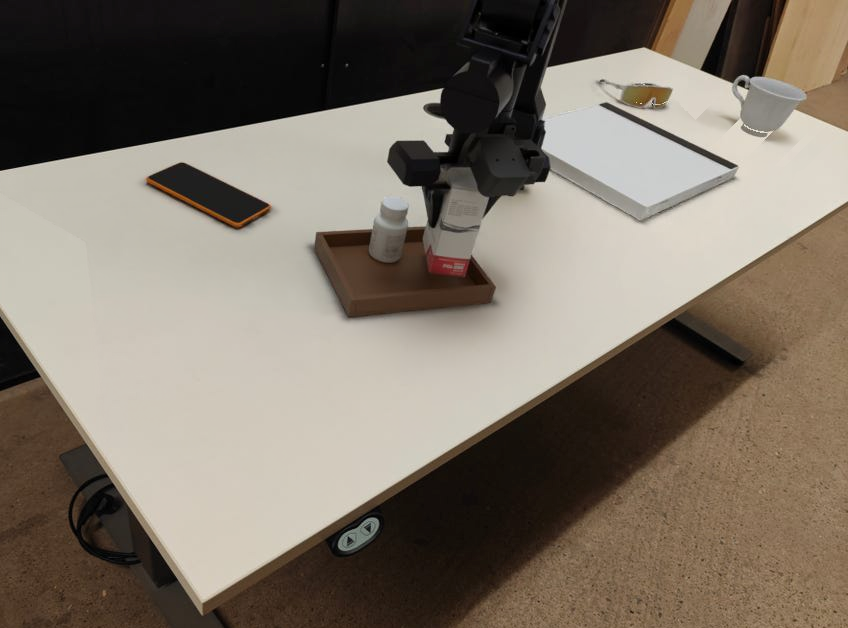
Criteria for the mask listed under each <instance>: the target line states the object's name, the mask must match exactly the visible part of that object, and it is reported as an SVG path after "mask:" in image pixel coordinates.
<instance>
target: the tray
mask: <svg viewBox="0 0 848 628" xmlns="http://www.w3.org/2000/svg"><path fill="white" fill-rule="evenodd" d="M425 228H426V225H423V226H408V228H407V233H406V237H405V241H404V246H403V250H402V254H401V257H400V259H399V260H397V261H396V262H392V263H385V262H381V261H378V260H376V259H374V258H373V257H372V256H371V255H370V253H369V245H370V240H371V235H372V229H373V228H367V229H350V230H349V229H348V230H347V229H346V230H329V231H327V230H326V231H316V232H315V238H314V247H313V249H314V250H315V253H316V255H317V257H318V259H319V261H320V263H321V265H322V267H323V268H324V271H325V273H326V275H327V277H328V279H329V281H330V283H331V285H332V287H333V289H334V292H335V293H336V295H337V297H338V299H339V301H340V303H341V306H342V307H343V310H344V311H345V313H346V315H347V317H348V318H352V317H361V316H372V315H381V314H382V315H383V314H390V313H391V314H392V313H401V312H411V311H420V310H430V309H440V308H442V309H443V308H450V307H459V306H460V307H462V306H469V305H470V306H471V305H480V304H488V303H489V304H490V303H492V301H493V297H494V295H495V292H496V289H497V285H495V283H494V282H493V281H492V280H491V278H490V277H489V276H488V274H487V272H486V271H485V270H484V269H483V268H482V267H481V265H480V263H478V261H477V260H476V258H475V257H474V256H473V255H472V254H471V258H470V261H469V264H468V268H467V271H466V274H465V277H459V276H450V275H442V274H434V273H429V270H428V264H427V259H426V254H425V249H424V243H423V235H424V232H425Z"/></svg>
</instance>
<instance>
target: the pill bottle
mask: <svg viewBox="0 0 848 628" xmlns="http://www.w3.org/2000/svg"><path fill="white" fill-rule="evenodd" d="M409 206H410V205H409V203H408V201H407V200H405V199H404V198H403V197H399V196H395V195H389V196H385V197H383V198H382V199H381V202H380V207H379V212H377V213H376V215H375V217H374V220H373V223H372V224H373V225H372V228H371V229H372V235H371V240H370V245H369V253H370V255H371V256H372V257H373V258H374V259H376V260H378V261H381V262H385V263H392V262H396V261H397V260H399V259H400V257H401V254H402V250H403V246H404V241H405V237H406V233H407V228H408V227H409V220H408V218H407V215H408V212H409V208H410V207H409Z"/></svg>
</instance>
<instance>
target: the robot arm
mask: <svg viewBox="0 0 848 628" xmlns="http://www.w3.org/2000/svg"><path fill="white" fill-rule="evenodd" d="M567 2H568V0H471V3H470V5H469V8H468V11H467V13H466V16H465V18H464V21H463V24H462V27H461V30H460V33H459V35H458V37H457V40H456V45H458V46H462V47H465V48H468V49H470V51H469V55H468V57H467V60H466V62H465V64H464V65H463V66H462V67H461V68H460V69H459V70H458V71H456V73H455V74H453V75H452V76H451V78H450V79H448V81H446V83H445V85H444V87H443V88H442V89H441V93H440V98H439V104H440V112H441V114H442V116H443V118H444V120H445V121H446V123H447V124H448V125H449V126H450V127H451V128H452V129H453V130H452V133H446V134H445V138H444V144H445V145H446V146H447V147H448V150H447V151H433V149H432V148H431V146H429V145H428V143H427V142H426V140H396V141H395V142H394V143H392V144H391V146H390V147H389V150H388V153H387V154H388V155H387V160H386V163H387V164H388V165H389V167H390V168H391V170H392V171H393V172H394V174H395V175H396V177H398V179H399V180H400V182H401V183H402V184H403V185H404V186H407V187H410V188H412V187H413V188H415V187H421V190H422V195H423V200H424V201H423V202H424V205H425V210H426V217H427V220H428V223H429V225H430V227H431V228H435V226H436V224H437V221H438V218H439V214H440V210H441V206H442V201H443V197H444V194H445V193H446V192H448V191H449V190H451V187H450V186H449V185H448V183H447V182H446V177H447V173H448V172H449V170H467V169H471V171H472V173H473V176H474V178H475V181H476V183H477V189H478V191H479V192H480V194H481V195H483V196H485V197H489V200H488V203H487V206H486V209H485V212H484V216H483V219H484V218H485V217H486V216H487V214H488V213H489V212H490V211H491V209H492V208H493V207H494V205H496V203H497V202H498V201H499V200H500V199H501V197H502V196H504V197H505V196H507V197H515V196H516V195H517V194H518V192H519V191H524V190H525V185H528V186H529V185H535V184H536V183H546V181H547V179H548V177H549V174H550V171H551V170H550V169H551V163H550V159H549V157H548V156H547V155H546V154H545V153H544V152H543V151H542V149H541V148H542V145H543V141H544V138H545V134H546V131H545V129H544V128H545V126H544V125H545V121H544V120H542V117H544V113H545V110H546V106H547V103H546V100H545V96H544V93H543V89H542V85H543V81H544V78H545V74H546V72H547V69H548V64H549V63H550V62H549V61H550V58H551V55H552V51H553V48H554V46H555V42H556V38H557V35H558V33H559V30H560V26H561V23H562V19H563V16H564V13H565V10H566V6H567ZM476 23H477V24H476ZM475 25H477V27H478V29H477V28H474V27H475ZM480 29H482V30H480ZM488 31H489V32H488Z"/></svg>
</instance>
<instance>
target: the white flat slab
mask: <svg viewBox="0 0 848 628" xmlns="http://www.w3.org/2000/svg"><path fill="white" fill-rule="evenodd" d="M542 120H544V121H545V125H544V126H545V128H544V129H545V131H546V134H545V138H544V141H543V145H542V148H541V149H542V151H543V152H544V153H545V154H546V155H547V156H548V157H549V159H550V163H551V169H550V171H552V172H554V173H556V174H557V175H559V176H561V177H563V178H564V179H566V180H568V181H569V182H570V183H571V182H572V183H573V184H575V185H576V186H578V187H580V188H582V189H584V190H586V191H587V192H589V193H591V194H592V195H594V196H596V197H598V198H599V199H601V200H603V201H605V202H606V203H608V204H610V205H612V206H613V207H615V208H617V209H619V210H620V211H622V212H624V213H626V214H628V215H629V216H631V217H633V218H635V219H637V220H638V221H640V222H641V221H644V220H646V219H647V218H649V217H652V216H654V215H656V214H658V213H660V212H662V211H664V210H667V209H669V208H671V207H673V206H675V205H678V204H680V203H682V202H684V201H686V200H688V199H690V198H693V197H695V196H697V195H699V194H701V193H704V192H705V191H708V190H711V189H712V188H714V187H716V186H719V185H721V184H723V183H724V182H727V181H729V180H731V179H733V178H734V177H735V175H736V174H737V172H738V170H739V169H740V166H739V165H738V164H736V163H734V162H732V161H730V160H728V159H725V158H723V157H722V156H720V155H718V154H716V153H714V152H711V151H709V150H707V149H705V148H703V147H701V146H699V145H696V144H695V143H693V142H691V141H689V140H686V139H684V138H682V137H680V136H678V135H676V134H674V133H671V132H670V131H668V130H666V129H663V128H662V127H659V126H657V125H655V124H653V123H651V122H649V121H647V120H645V119H642V118H640V117H639V116H636V115H635V114H632V113H630V112H628V111H626V110H624V109H622V108H620V107H617V106H615V105H614V104H612V103H610V102H605V101H604V102H601V103H597V104H591V105H589V106H584V107H579V108H575V109H572V110H568V111H564V112H559V113H556V114H551V115H547V116H543V117H542Z"/></svg>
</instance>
